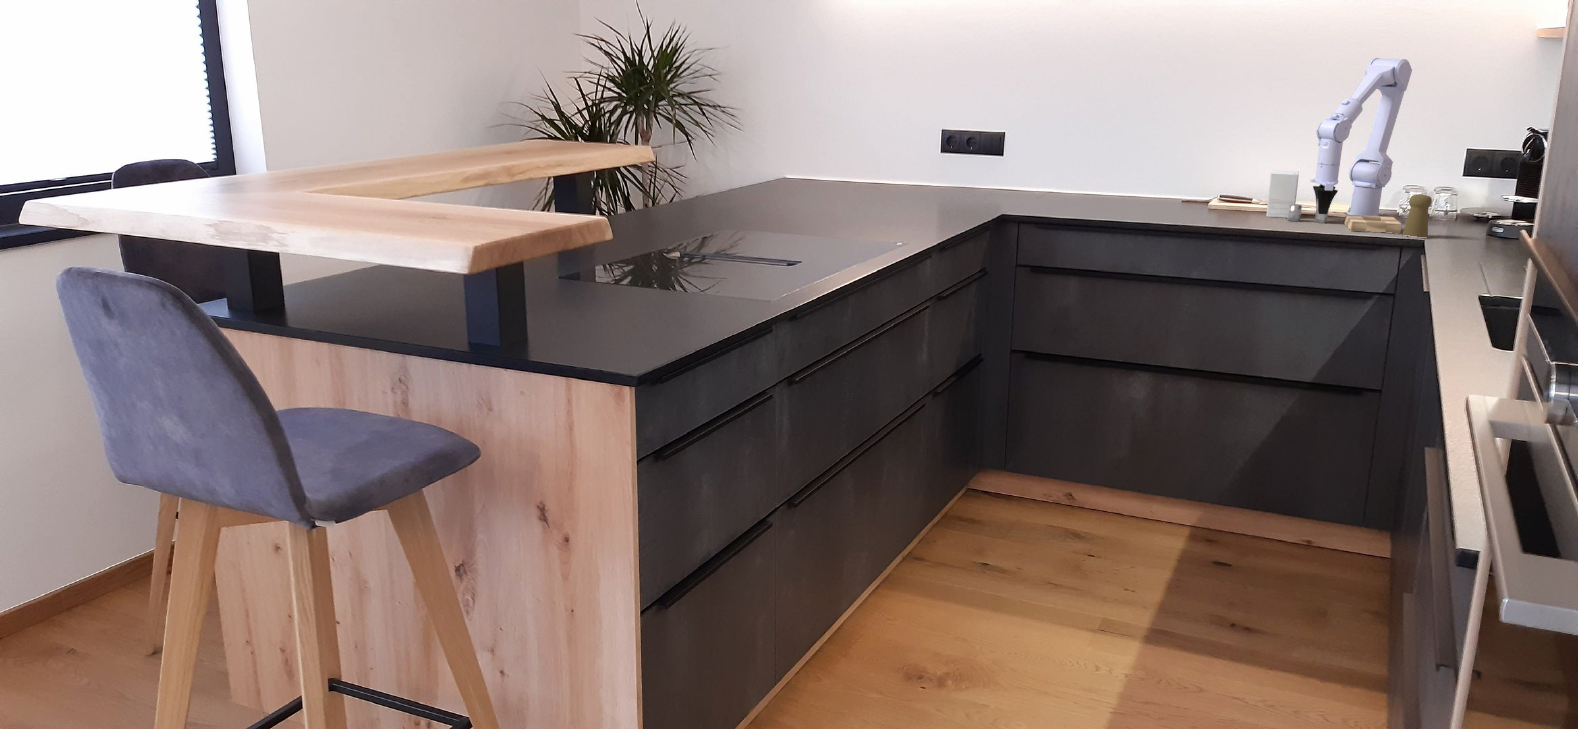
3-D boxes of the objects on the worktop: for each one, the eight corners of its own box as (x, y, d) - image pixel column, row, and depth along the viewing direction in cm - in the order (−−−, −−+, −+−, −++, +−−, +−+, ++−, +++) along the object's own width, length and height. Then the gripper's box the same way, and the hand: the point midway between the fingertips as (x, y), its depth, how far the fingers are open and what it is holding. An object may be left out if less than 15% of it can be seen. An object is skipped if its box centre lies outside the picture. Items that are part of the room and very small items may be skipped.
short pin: (1287, 219, 332) (1289, 203, 331) (1299, 220, 331) (1301, 204, 330) (1288, 221, 329) (1290, 205, 328) (1300, 222, 328) (1302, 206, 327)
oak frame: (1344, 223, 326) (1345, 214, 325) (1391, 226, 322) (1393, 216, 322) (1350, 231, 315) (1352, 221, 314) (1400, 233, 311) (1401, 224, 311)
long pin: (1313, 221, 330) (1317, 194, 328) (1326, 221, 329) (1329, 194, 327) (1315, 222, 327) (1318, 196, 325) (1327, 223, 326) (1331, 196, 324)
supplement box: (1294, 214, 340) (1300, 171, 337) (1293, 218, 334) (1298, 174, 330) (1267, 213, 343) (1272, 169, 339) (1265, 216, 337) (1270, 172, 333)
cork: (1422, 234, 310) (1428, 193, 307) (1431, 239, 305) (1438, 196, 302) (1398, 234, 311) (1404, 192, 308) (1407, 238, 305) (1414, 196, 302)
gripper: (1309, 160, 331) (1303, 208, 335) (1316, 166, 318) (1309, 216, 322) (1336, 161, 329) (1330, 209, 333) (1344, 167, 316) (1337, 217, 320)
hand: (1321, 212), depth 328 cm, fingers closed on long pin, 3 cm apart
